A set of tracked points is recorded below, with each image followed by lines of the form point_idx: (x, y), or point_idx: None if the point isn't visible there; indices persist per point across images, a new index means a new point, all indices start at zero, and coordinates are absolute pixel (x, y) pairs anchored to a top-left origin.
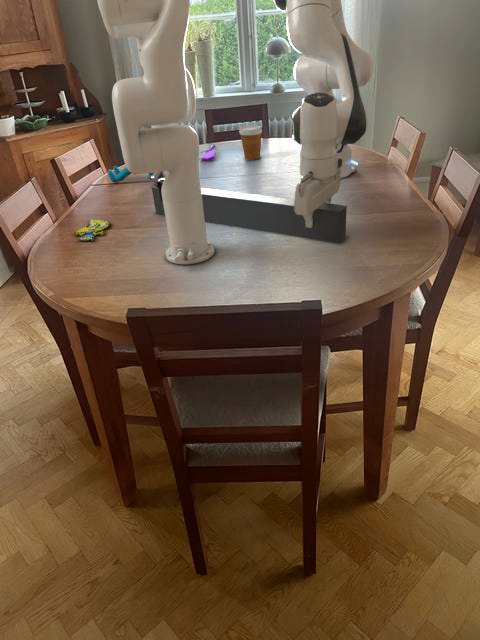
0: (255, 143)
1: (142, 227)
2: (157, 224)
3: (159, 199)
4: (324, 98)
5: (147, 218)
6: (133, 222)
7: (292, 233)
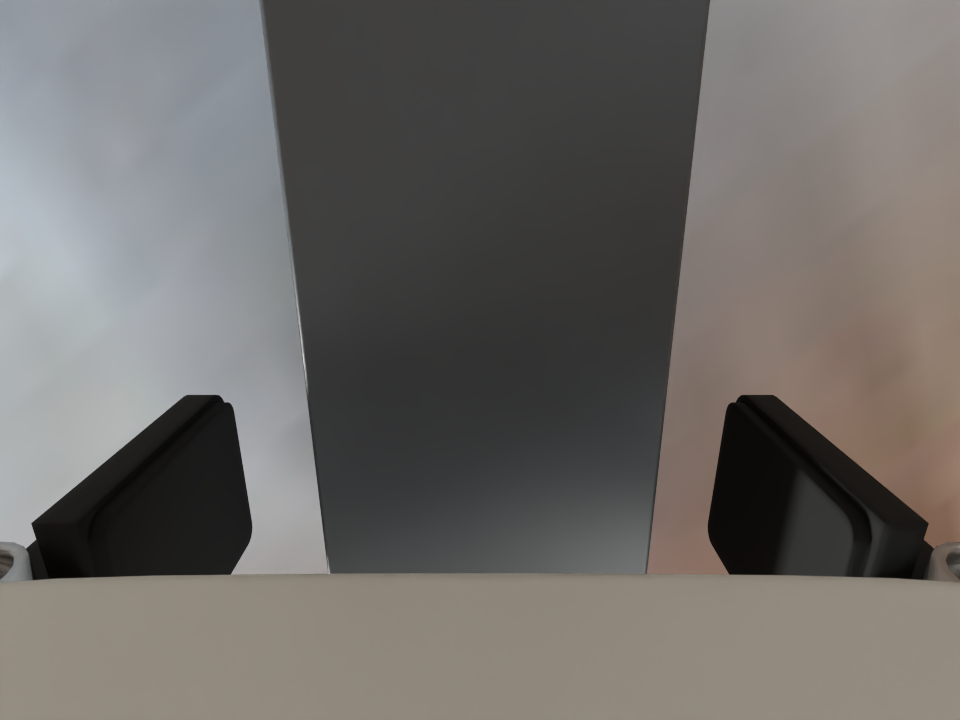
0: None
1: (910, 466)
2: (809, 379)
3: None
4: None
5: (686, 564)
6: None
7: None
